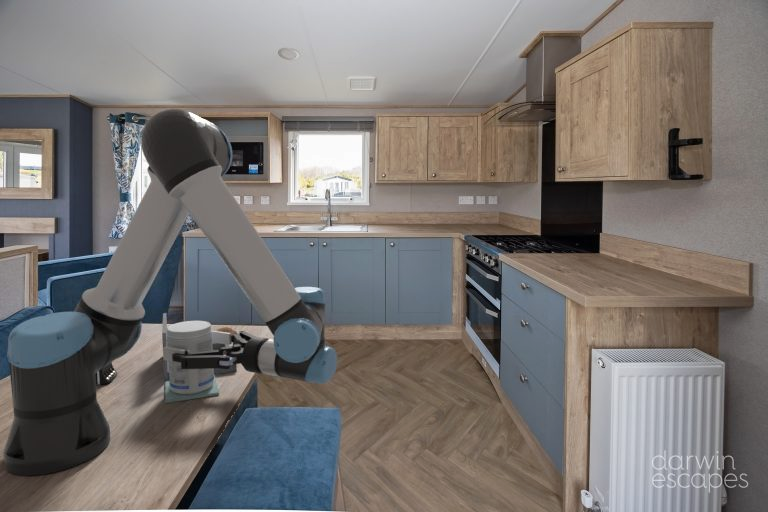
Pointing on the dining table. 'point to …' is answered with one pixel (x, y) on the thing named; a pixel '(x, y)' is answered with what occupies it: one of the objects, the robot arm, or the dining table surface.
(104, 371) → the battery charger
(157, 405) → the dining table surface
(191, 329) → the supplement tub
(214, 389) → the mat
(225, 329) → the bread roll
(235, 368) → the grey open frame
